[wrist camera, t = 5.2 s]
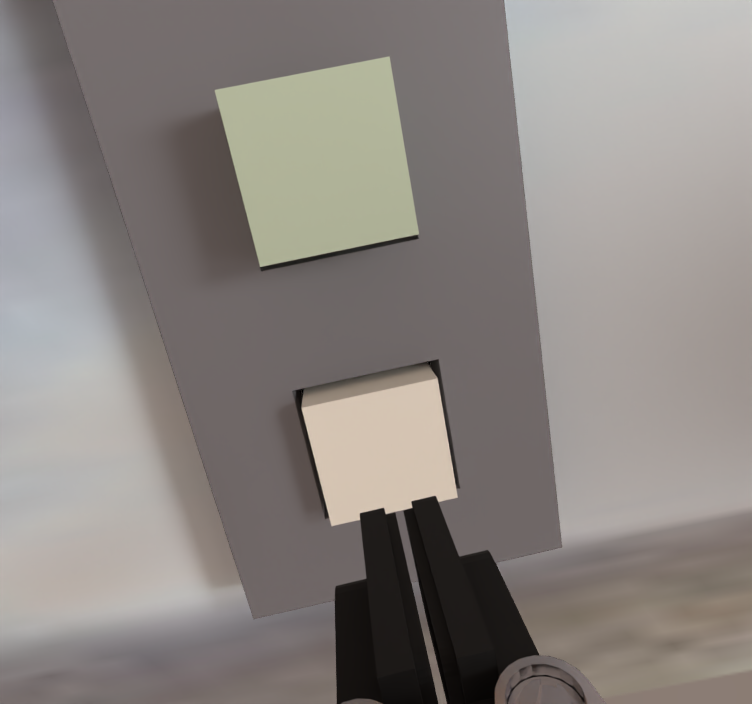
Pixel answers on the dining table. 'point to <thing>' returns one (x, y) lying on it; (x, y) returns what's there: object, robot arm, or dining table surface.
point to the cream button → (379, 441)
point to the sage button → (320, 160)
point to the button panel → (329, 267)
